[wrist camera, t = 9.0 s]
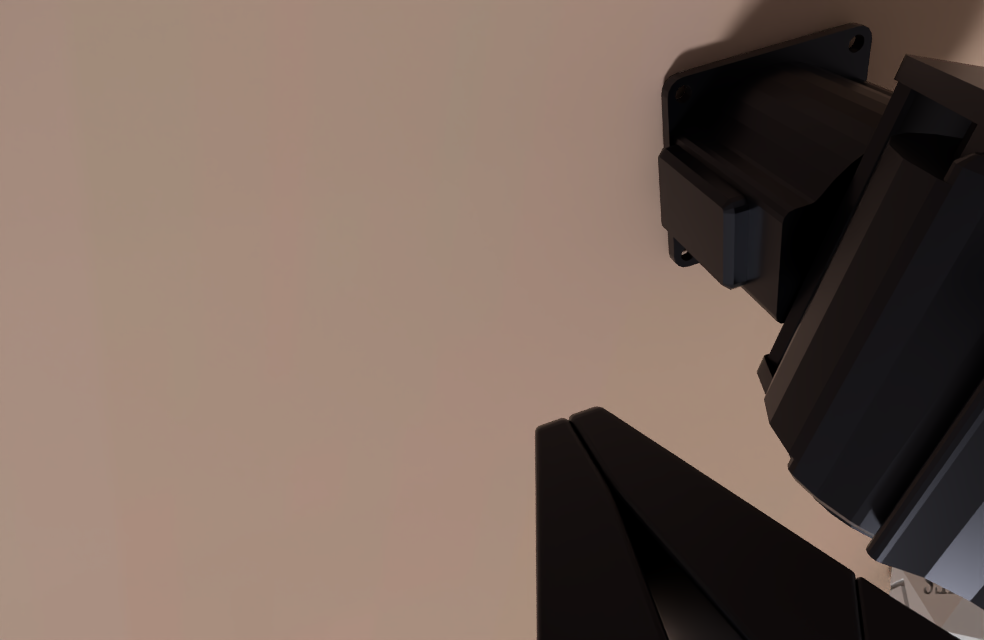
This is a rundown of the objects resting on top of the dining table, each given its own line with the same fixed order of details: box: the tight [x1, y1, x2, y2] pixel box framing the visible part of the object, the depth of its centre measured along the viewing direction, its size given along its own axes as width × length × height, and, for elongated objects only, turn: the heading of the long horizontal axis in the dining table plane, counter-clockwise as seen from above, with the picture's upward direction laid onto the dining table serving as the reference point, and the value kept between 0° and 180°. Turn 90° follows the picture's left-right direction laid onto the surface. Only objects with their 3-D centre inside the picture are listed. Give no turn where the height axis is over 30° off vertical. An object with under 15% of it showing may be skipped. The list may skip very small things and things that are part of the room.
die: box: [889, 567, 984, 640], centre depth 38 cm, size 8×9×10 cm
